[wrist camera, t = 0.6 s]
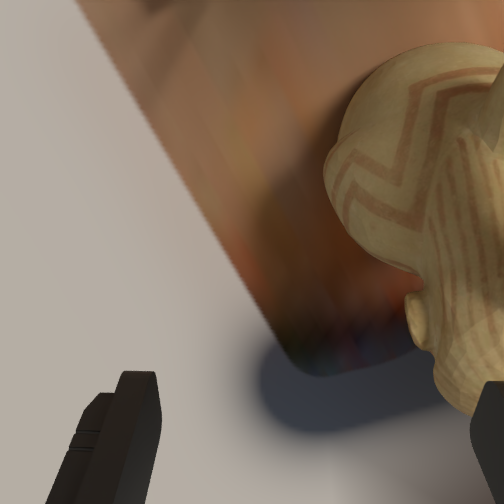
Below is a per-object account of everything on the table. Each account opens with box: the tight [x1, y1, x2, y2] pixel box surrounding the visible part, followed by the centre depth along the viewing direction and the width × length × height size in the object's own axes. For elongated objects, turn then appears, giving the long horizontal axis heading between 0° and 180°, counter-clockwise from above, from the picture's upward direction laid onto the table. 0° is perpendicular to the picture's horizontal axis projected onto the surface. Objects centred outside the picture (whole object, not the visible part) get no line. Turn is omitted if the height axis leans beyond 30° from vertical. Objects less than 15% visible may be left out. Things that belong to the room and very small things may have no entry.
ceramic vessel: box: [323, 42, 504, 417], centre depth 25 cm, size 17×20×25 cm
